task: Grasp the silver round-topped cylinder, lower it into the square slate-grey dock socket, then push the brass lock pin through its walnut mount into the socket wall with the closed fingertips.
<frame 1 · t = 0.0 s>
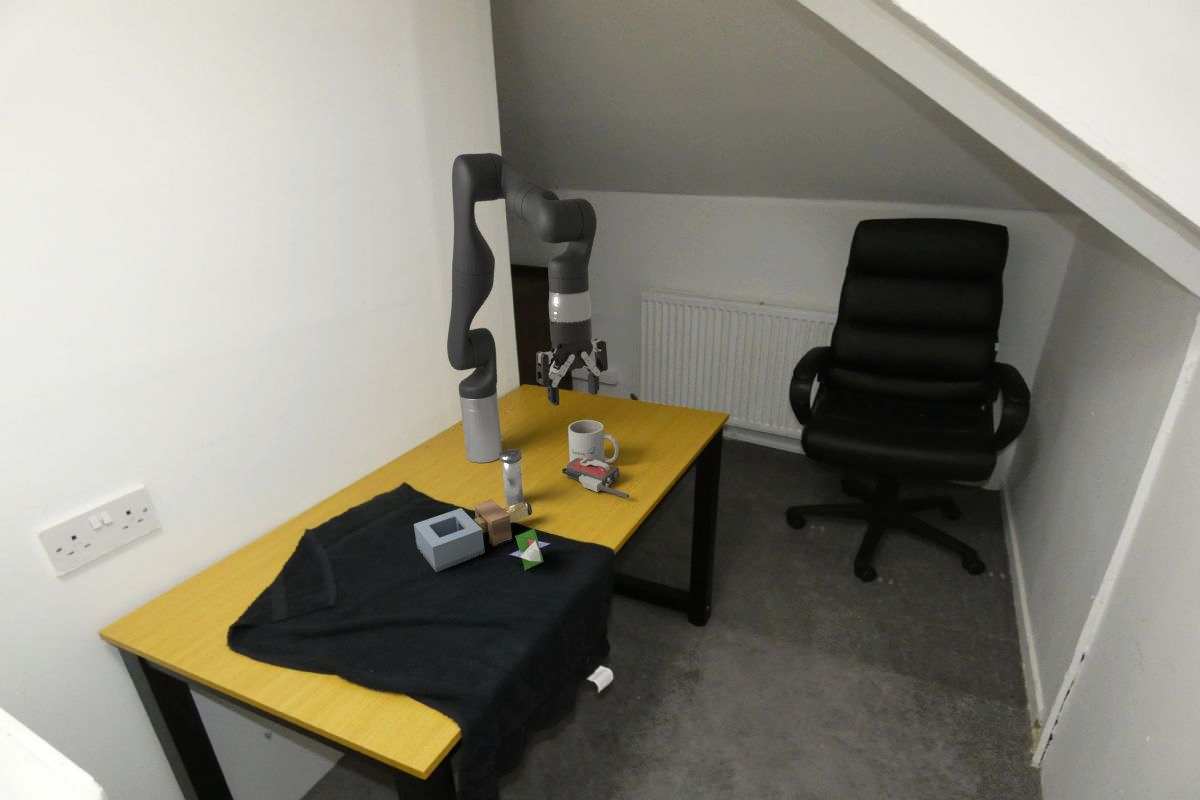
hand: (574, 399, 124), 29 cm above the table, fingers open, 8 cm apart
silver round-topped cylinder: (514, 502, 147), on the table
mug: (593, 466, 162), on the table, touching walkie-talkie
walkie-talkie: (601, 483, 153), on the table, touching mug
lock pin: (503, 517, 135), point 3 cm above the table, slide at 0.0 cm
dock socket: (450, 550, 130), on the table
geometric puzzle: (531, 564, 125), on the table
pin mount: (494, 534, 135), on the table
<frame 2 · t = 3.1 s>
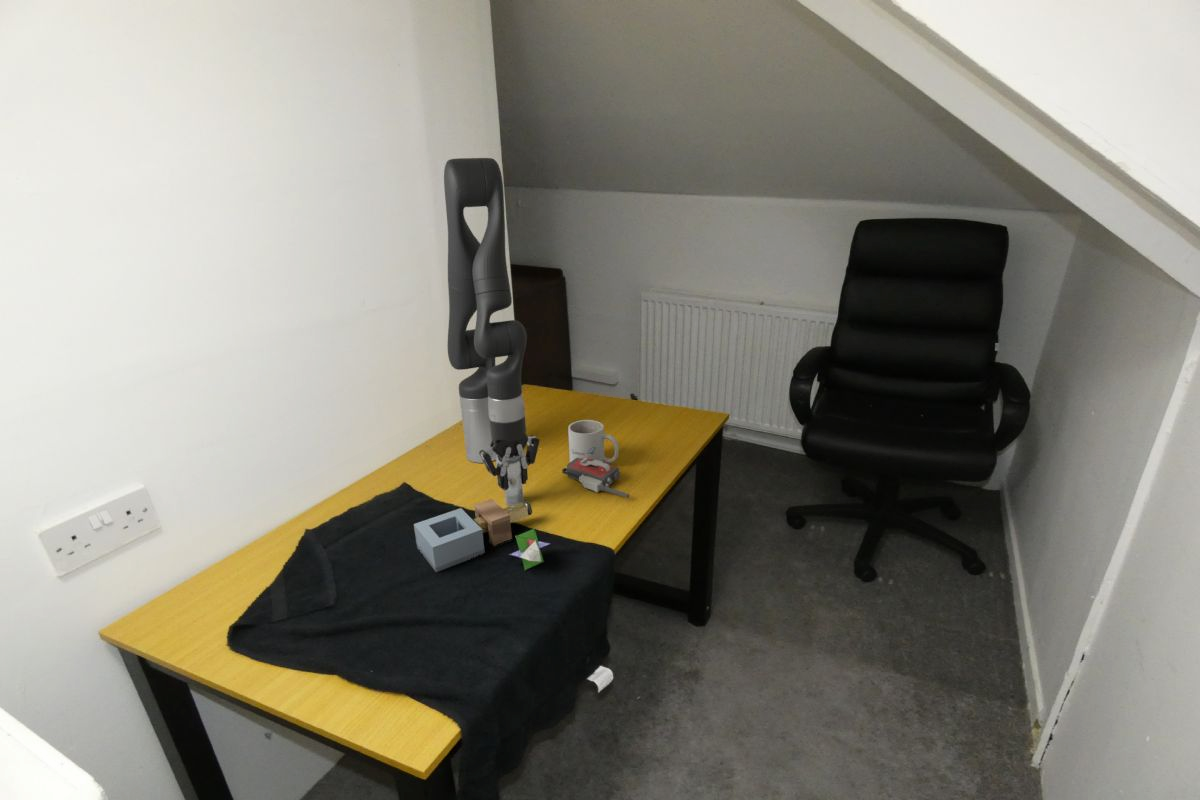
hand: (513, 485, 145), 4 cm above the table, fingers closed on silver round-topped cylinder, 4 cm apart
silver round-topped cylinder: (514, 502, 147), on the table, touching gripper
everything else where it was.
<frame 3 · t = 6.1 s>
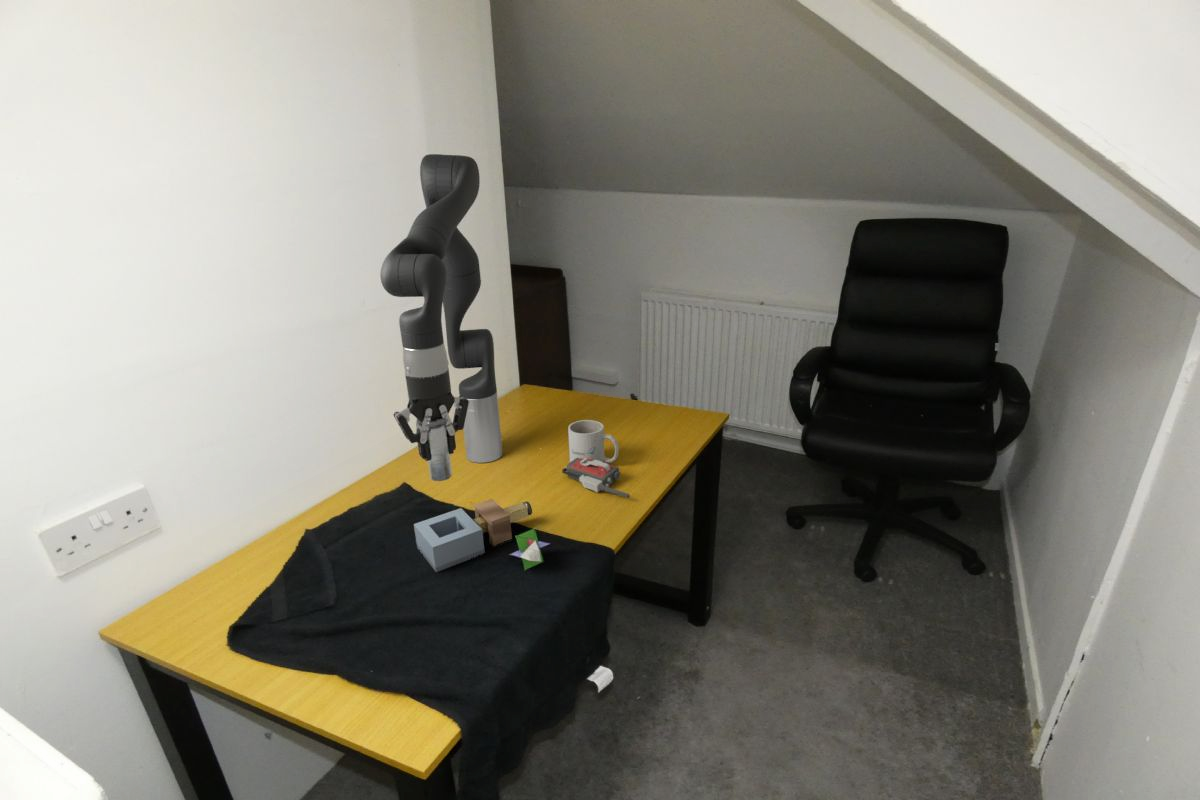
hand: (438, 455, 122), 21 cm above the table, fingers closed on silver round-topped cylinder, 4 cm apart
silver round-topped cylinder: (441, 476, 124), point 17 cm above the table, touching gripper
everything else where it was.
when the fingers open (7 cm above the table, at t = 8.9 s): silver round-topped cylinder drops 1 cm, resting on dock socket.
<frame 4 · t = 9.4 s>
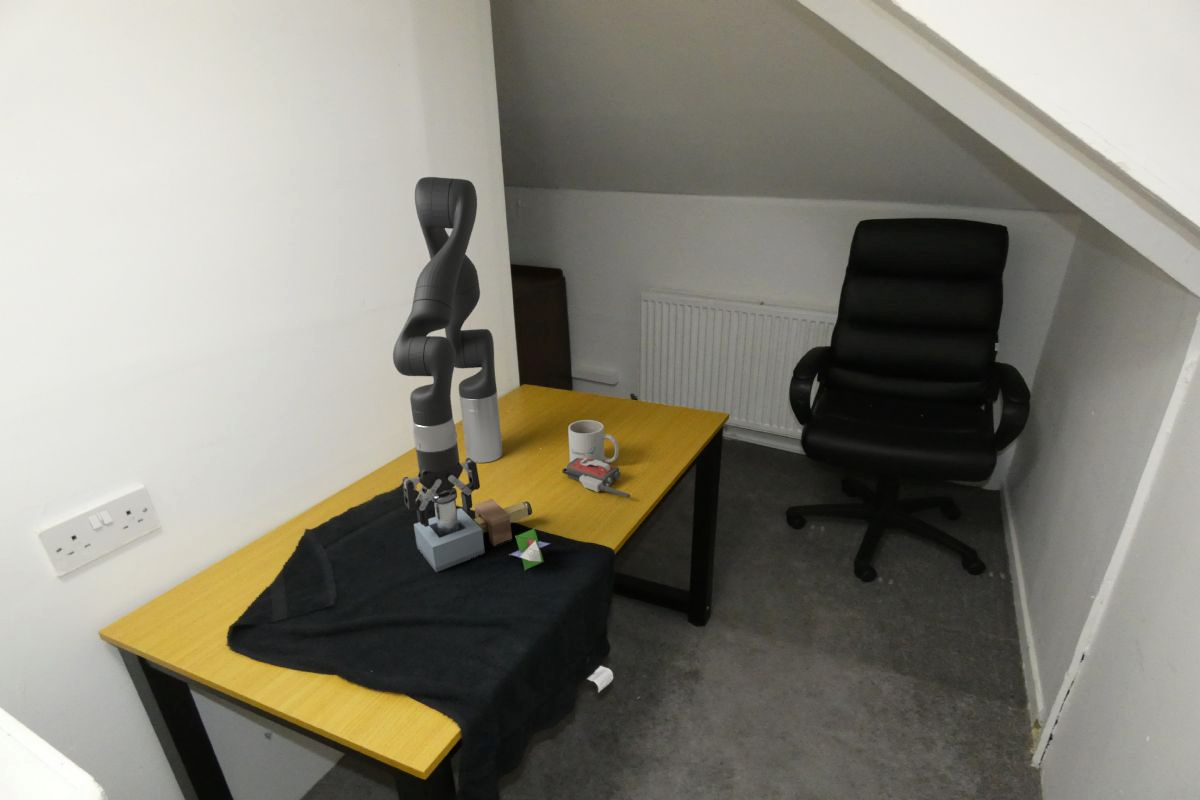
hand: (446, 517, 127), 8 cm above the table, fingers open, 8 cm apart
silver round-topped cylinder: (450, 546, 129), point 1 cm above the table, touching dock socket
everything else where it was.
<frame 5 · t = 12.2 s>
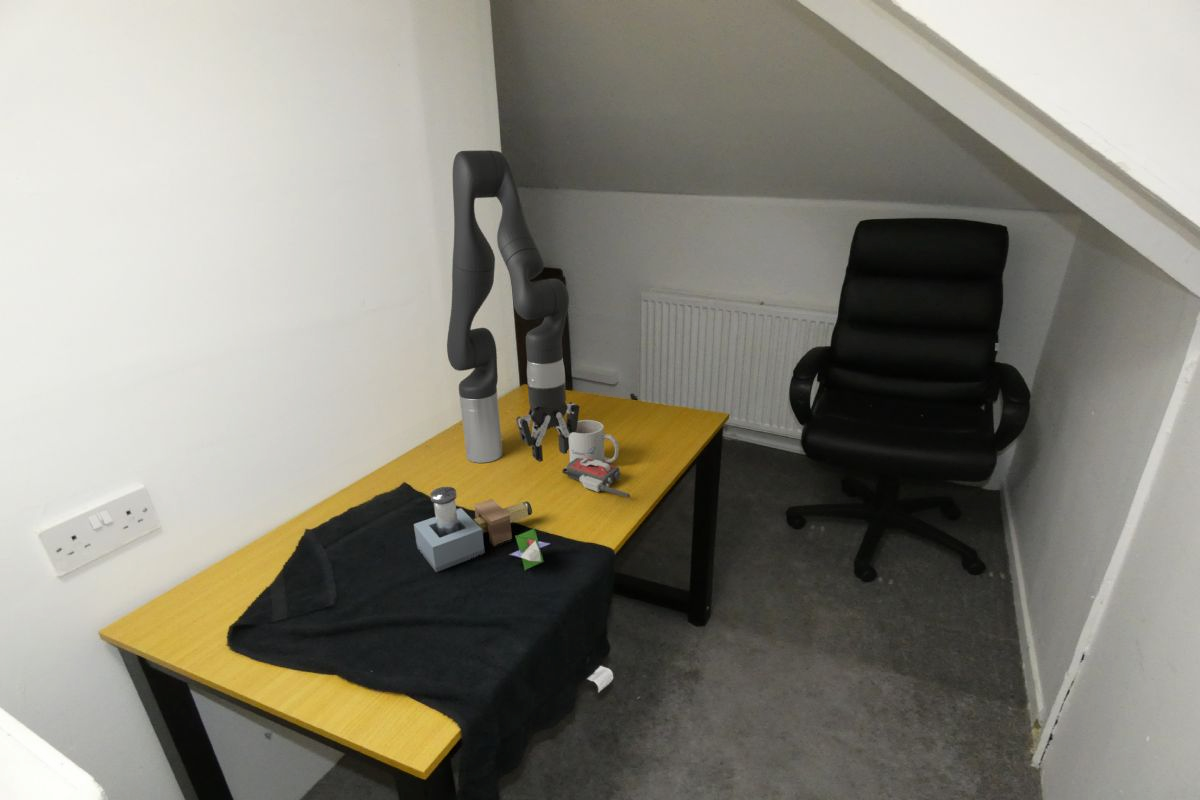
hand: (551, 456, 137), 13 cm above the table, fingers open, 5 cm apart
nothing on the table moved.
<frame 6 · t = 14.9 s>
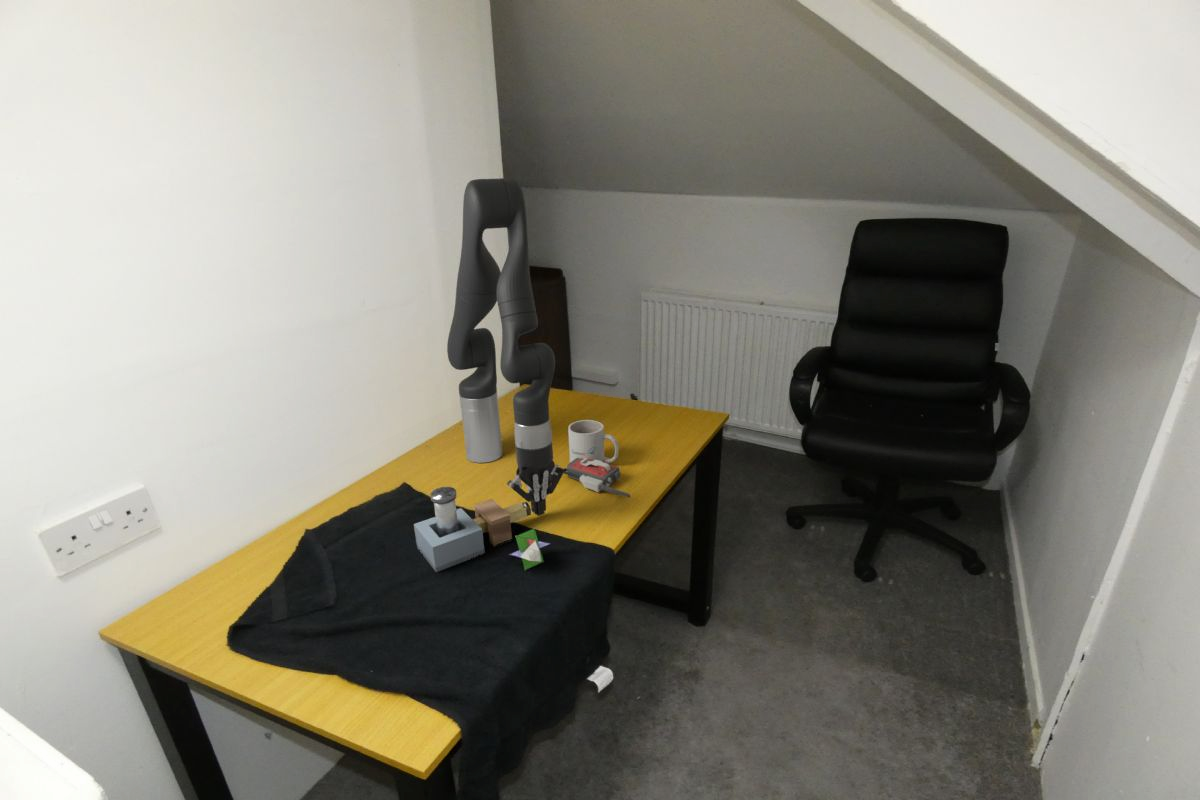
hand: (539, 513, 140), 1 cm above the table, fingers closed
lock pin: (502, 517, 135), point 3 cm above the table, slide at 0.3 cm, touching gripper
everything else where it was.
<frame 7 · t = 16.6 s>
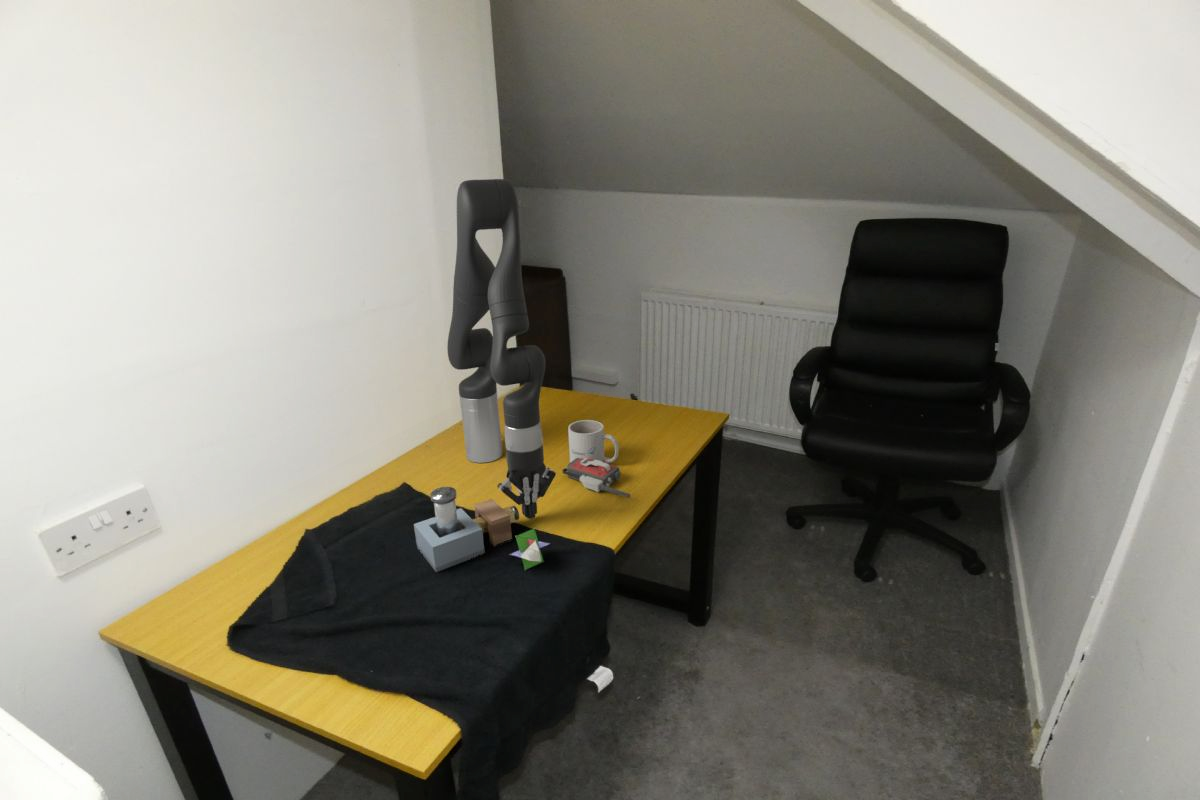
hand: (529, 516, 139), 1 cm above the table, fingers closed
lock pin: (489, 522, 133), point 3 cm above the table, slide at 3.0 cm
everything else where it was.
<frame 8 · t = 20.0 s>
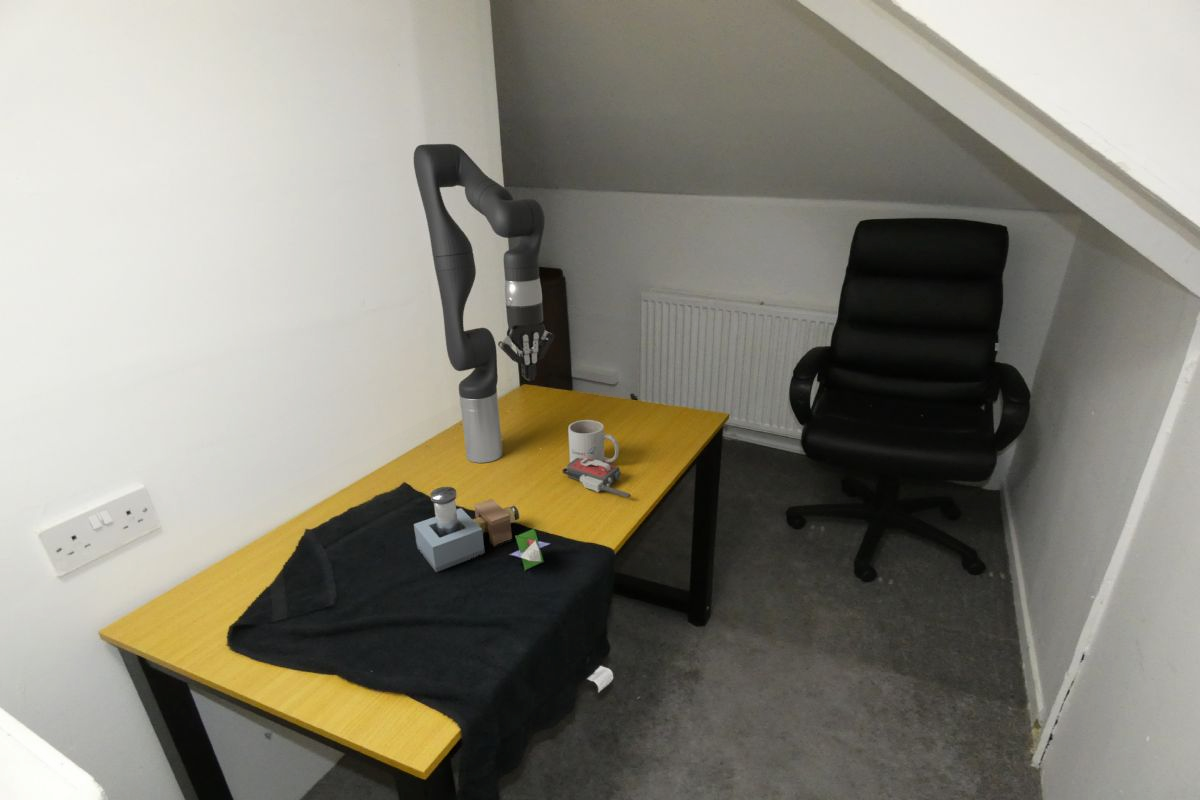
hand: (529, 379, 142), 27 cm above the table, fingers closed
nothing on the table moved.
at the end: silver round-topped cylinder 0.0 cm off-centre on the dock socket, point 1.0 cm above the dock socket's base; silver round-topped cylinder tilted 0°; lock pin slide at 3.0 cm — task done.
